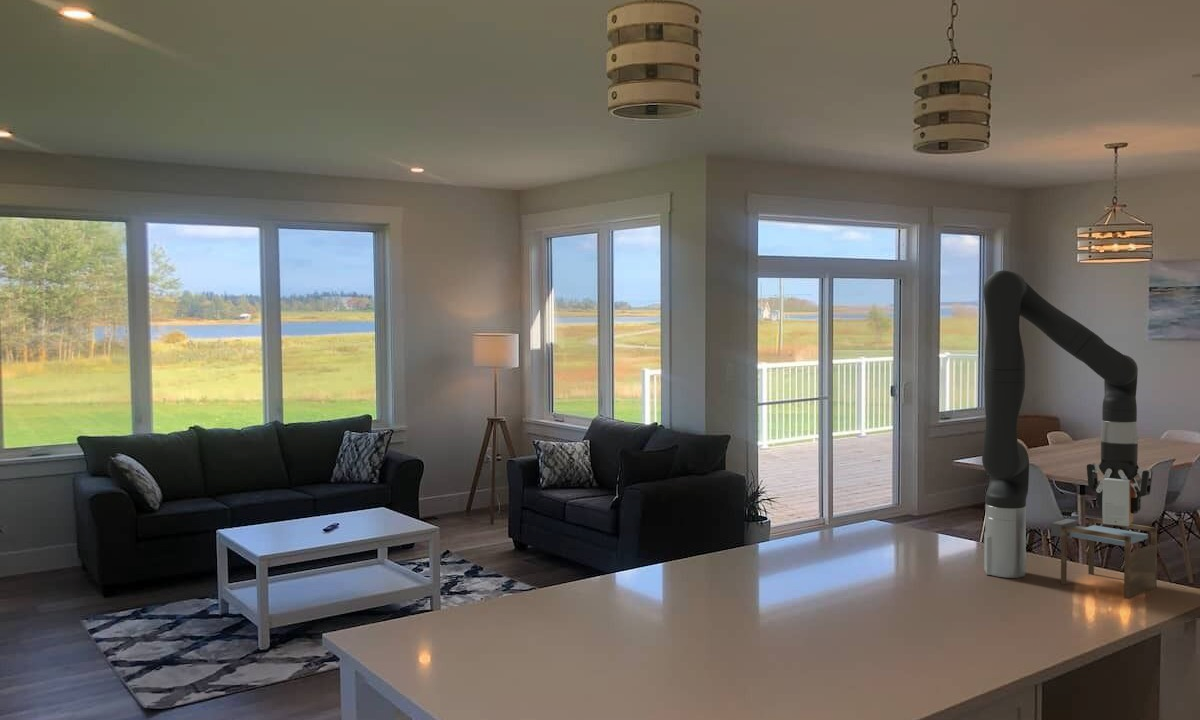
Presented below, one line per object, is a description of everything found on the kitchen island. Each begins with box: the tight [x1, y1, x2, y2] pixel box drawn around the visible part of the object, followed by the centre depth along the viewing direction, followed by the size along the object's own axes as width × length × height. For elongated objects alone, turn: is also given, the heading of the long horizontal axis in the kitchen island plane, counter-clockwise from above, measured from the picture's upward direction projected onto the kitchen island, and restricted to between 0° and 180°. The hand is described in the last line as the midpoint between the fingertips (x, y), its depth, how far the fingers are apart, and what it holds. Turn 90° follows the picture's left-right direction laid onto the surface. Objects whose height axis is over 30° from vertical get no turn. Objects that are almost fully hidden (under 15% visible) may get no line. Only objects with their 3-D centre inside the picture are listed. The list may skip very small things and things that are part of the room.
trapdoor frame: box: [1060, 517, 1158, 599], centre depth 218 cm, size 15×15×14 cm
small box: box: [1102, 478, 1135, 526], centre depth 216 cm, size 8×6×10 cm
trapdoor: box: [1050, 518, 1149, 547], centre depth 220 cm, size 18×12×3 cm, turn 37°
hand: (1118, 510), depth 216 cm, fingers closed on small box, 6 cm apart
